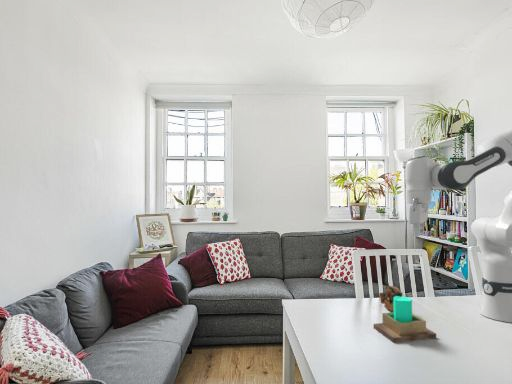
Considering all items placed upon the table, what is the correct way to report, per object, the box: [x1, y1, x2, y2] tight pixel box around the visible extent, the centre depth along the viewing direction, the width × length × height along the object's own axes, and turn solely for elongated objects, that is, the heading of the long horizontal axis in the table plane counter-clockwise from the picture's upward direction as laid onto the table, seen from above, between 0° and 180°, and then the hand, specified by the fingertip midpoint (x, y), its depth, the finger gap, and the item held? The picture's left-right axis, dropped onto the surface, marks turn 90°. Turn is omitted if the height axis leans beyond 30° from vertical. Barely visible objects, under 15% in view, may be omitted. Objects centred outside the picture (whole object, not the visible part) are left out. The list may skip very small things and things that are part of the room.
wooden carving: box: [379, 285, 403, 312], centre depth 135 cm, size 16×5×10 cm, turn 11°
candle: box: [393, 293, 413, 322], centre depth 113 cm, size 6×6×12 cm
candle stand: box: [373, 311, 437, 344], centre depth 112 cm, size 16×12×6 cm
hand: (419, 234), depth 123 cm, fingers open, 8 cm apart
